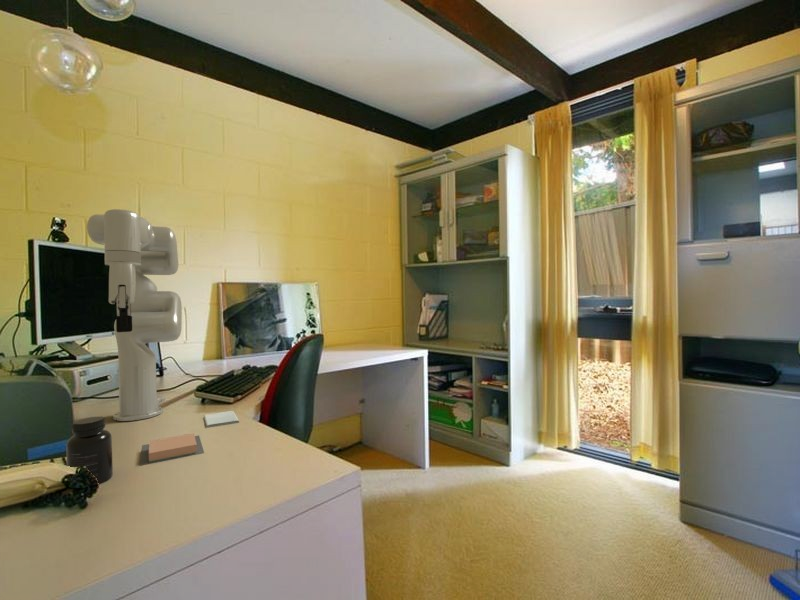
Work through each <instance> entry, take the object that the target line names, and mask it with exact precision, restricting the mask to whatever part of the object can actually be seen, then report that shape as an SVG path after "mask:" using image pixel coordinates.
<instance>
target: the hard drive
mask: <svg viewBox="0 0 800 600" xmlns="http://www.w3.org/2000/svg"><path fill="white" fill-rule="evenodd" d="M203 419H204V422H205V426H206V429H207V428H215V427H220V426H226V425H232V424H238V423H240V420H239V418H238V416H237V415H236V414H235V411H234V410H228V411H221V412H214V413H207V414H204V415H203Z"/></svg>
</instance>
